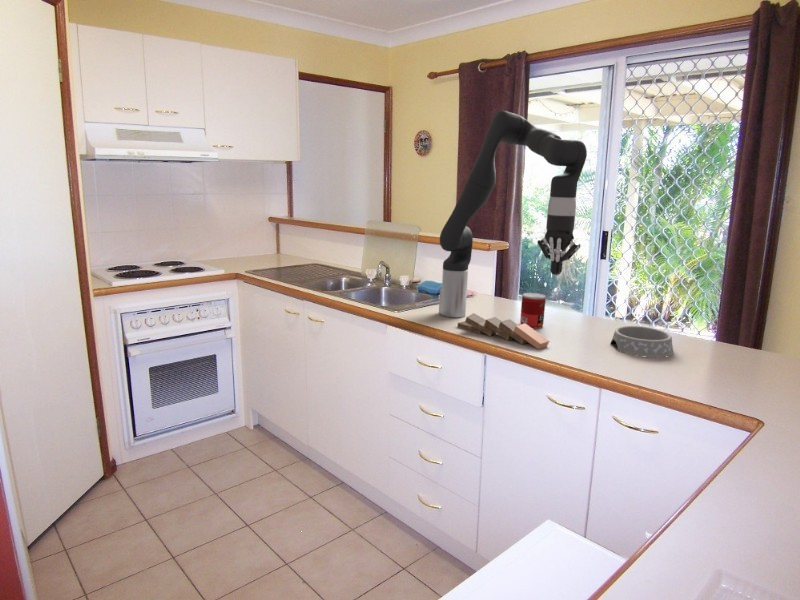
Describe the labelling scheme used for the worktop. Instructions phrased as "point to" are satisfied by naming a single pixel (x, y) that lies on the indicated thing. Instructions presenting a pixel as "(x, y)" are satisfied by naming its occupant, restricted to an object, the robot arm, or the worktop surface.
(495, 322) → the domino
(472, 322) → the domino
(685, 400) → the worktop surface
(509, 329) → the domino
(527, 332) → the domino
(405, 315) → the worktop surface
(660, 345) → the dog bowl
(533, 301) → the canned food
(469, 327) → the domino
